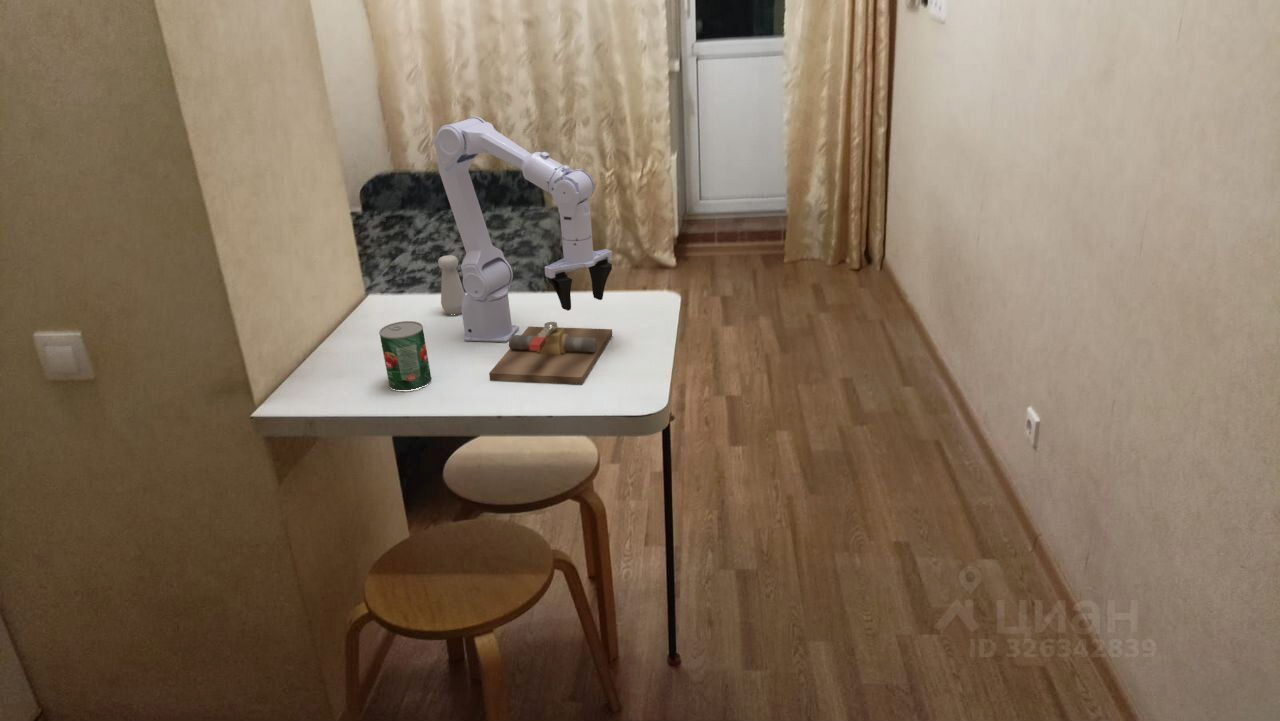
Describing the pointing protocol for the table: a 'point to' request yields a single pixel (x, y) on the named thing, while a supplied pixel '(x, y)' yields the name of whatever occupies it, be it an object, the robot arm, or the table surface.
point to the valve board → (552, 356)
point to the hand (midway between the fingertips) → (582, 303)
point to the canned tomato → (405, 355)
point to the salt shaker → (451, 285)
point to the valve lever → (543, 336)
